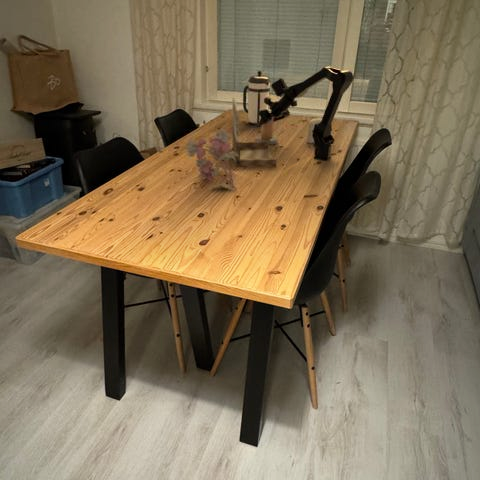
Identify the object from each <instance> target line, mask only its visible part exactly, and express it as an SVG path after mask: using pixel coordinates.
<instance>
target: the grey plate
mask: <svg viewBox="0 0 480 480" xmlns="http://www.w3.org/2000/svg"><path fill="white" fill-rule="evenodd" d="M256 141H268V146H276V145H278V144H279V138H278V137H277V136H275V135H273V138H272V140H262V139H261V135H258V136H256V137H254V142H256Z"/></svg>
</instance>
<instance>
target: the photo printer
mask: <svg viewBox="0 0 480 480" xmlns="http://www.w3.org/2000/svg"><path fill="white" fill-rule="evenodd" d="M322 118H323V117H322ZM322 118H321V117H320V118H319V117H318V118H313V119H309V122H308V130H307V138H306V139H307V140H306V142H307V143H308V144H315V143H314V139H313V137H312V134H313V132H312V131H313V129H314V126H315V124H317V123H320V122H321V120H322Z"/></svg>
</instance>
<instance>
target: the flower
mask: <svg viewBox="0 0 480 480" xmlns="http://www.w3.org/2000/svg"><path fill="white" fill-rule="evenodd" d="M228 131H229V130H228V128H226V130H224V128H221V129H218V130H217V131H216V132H215V136H211V137H210V138H209V141H208V142H209V145H208V144H207V140H206V138H204V137H200V138H199V139H198V140H197V142H195V140H194V139H188V140H187V143H186V147H184V146H183V145H182V146H181V148H183V149H186V152H187V154H186V155H187V156H188V157H190V158H192V157H194V156H195V154H196V160H195V162H196V163H195V166H196V167H199V168H198V172H199V174H198V177H199V178H200V177H201V178H203V180H206V179H207V180H208V181H213V180H214V179H215V176H216V177H217V176H219V177H220V179H222V180H224V181H225V182H226V183H228V184H226V183H215V184H214V185H212V186H211V187H210V190H209V191H210V192H211V191H212V189H214V188H223V189H224V188H225V189H234V190H236V191H237V190H238V188H237V187H236V186H235V185H234V179H233V174H232V169H231V167H230V163H229V160H230V159H233V160H234V161H235V158H234V156H238V157H239V155H238V154H237V153H236V152H235V151H233V150H232V151H231V148H232V146H231V140H232V139H233V136H230V135H231V133H230V132H229V133H228ZM229 136H230V137H229ZM203 145H206V146H205V147H206V148H203V147H202V146H203ZM206 152H207V153H208V154H209V155H211V156H212V159H214V160H215V161H218V162H219V163H217V164H216V168H214V163H213V162H212V161H211V160H210V159H207V157H205V155H207V153H206ZM239 158H240V157H239ZM222 160H223V161H224V162H225V163H223V161H222ZM226 166H227V168H226ZM220 168H222V169H223V171H224V173H225V174H226V176H227V177H225V176H224V175H222V174H220ZM228 171H229V173H228Z"/></svg>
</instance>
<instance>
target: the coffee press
mask: <svg viewBox="0 0 480 480" xmlns="http://www.w3.org/2000/svg"><path fill="white" fill-rule="evenodd" d="M247 82H248V85H245V86H244V87H243V94H242V106H243V111H245V113H246V114H247V119H246V120H245V124H246V125H247V124H249V123H252V124H256V127H257V128H259V127H260V126H259V122H260V119H261V117H260V115H259V112H260V111H261V110H264V109H267V110H268V111H269V110H270V109H269V107H270V106H269V105H267V104H265V103H264V98H266V97H267V96H270V94H271V93H270V90H271V86H270V84H271V79H270V77H269V76H267V75H263V74H262V71H261V70H258V71H257V74H255V75H251V76H249V78H248V81H247ZM247 91H248V92H247ZM247 93H248V96H247ZM247 121H248V122H247Z"/></svg>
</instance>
